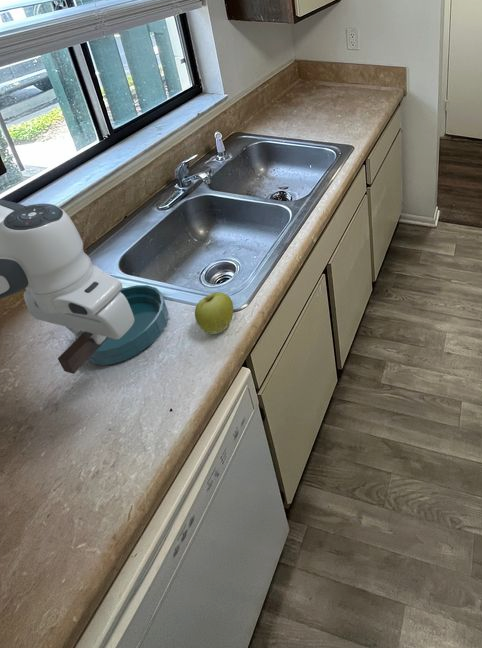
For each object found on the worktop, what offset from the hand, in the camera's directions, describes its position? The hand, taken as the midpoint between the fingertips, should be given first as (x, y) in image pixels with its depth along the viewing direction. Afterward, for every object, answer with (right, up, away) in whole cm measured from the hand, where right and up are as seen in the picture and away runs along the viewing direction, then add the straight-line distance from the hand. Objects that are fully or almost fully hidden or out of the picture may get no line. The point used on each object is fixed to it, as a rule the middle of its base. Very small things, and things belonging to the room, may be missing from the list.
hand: (92, 338), depth 82 cm
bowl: (-5, -8, +18) cm, 21 cm away
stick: (0, -2, +1) cm, 2 cm away
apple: (+15, -7, +20) cm, 26 cm away
